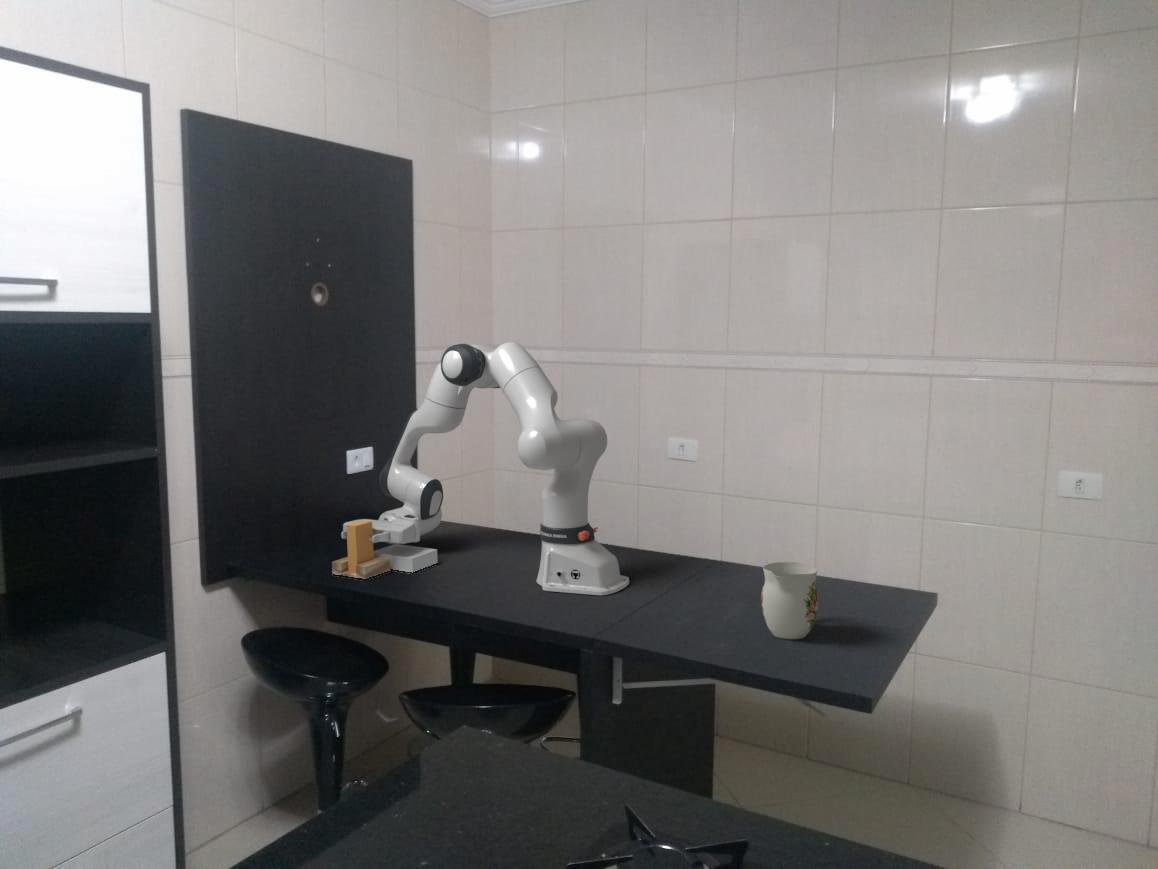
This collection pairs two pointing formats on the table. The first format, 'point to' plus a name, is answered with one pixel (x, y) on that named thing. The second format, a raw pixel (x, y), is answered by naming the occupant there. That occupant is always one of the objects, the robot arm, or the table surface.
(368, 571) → the rack
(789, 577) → the pitcher
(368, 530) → the orange rectangular block
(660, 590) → the table surface
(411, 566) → the block
